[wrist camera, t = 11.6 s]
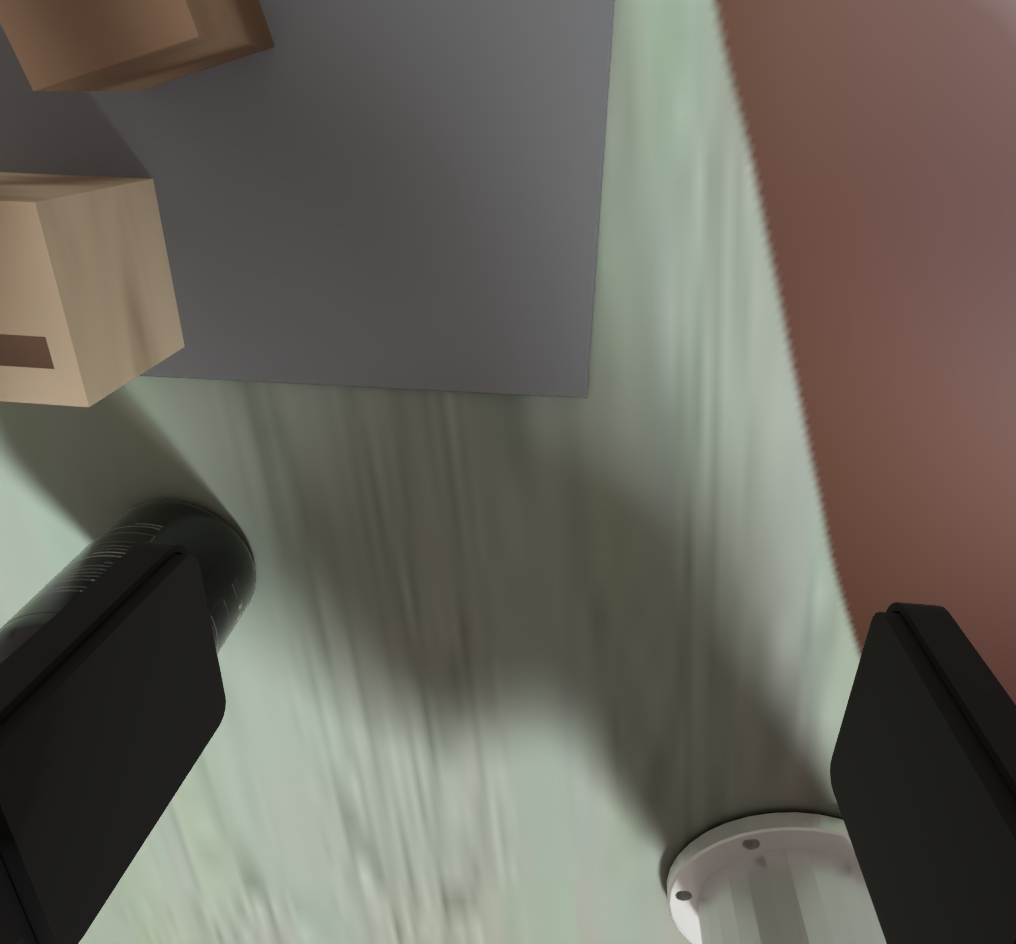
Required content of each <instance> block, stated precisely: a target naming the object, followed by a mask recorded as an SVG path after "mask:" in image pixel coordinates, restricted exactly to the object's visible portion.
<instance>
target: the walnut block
mask: <svg viewBox="0 0 1016 944" xmlns="http://www.w3.org/2000/svg"><path fill="white" fill-rule="evenodd" d="M0 23H1V25H2V27H3V29H4V31H5V33H6V35H7V37H8V40H9V42H10V44H11V46H12V48H13V50H14V52H15V54H16V56H17V58H18V60H19V62H20V64H21V66H22V69H23V71H24V73H25V75H26V77H27V79H28V81H29V83H30V85H31V87H32V89H33V91H140V90H143V89H146V88H149V87H152V86H155V85H158V84H161V83H165V82H168V81H171V80H174V79H177V78H180V77H183V76H186V75H189V74H192V73H196V72H199V71H202V70H205V69H208V68H211V67H214V66H217V65H220V64H223V63H227V62H230V61H233V60H236V59H239V58H242V57H245V56H248V55H251V54H254V53H258V52H261V51H264V50H267V49H270V48H273V47H275V45H274V42H273V39H272V36H271V33H270V30H269V28H268V25H267V22H266V19H265V16H264V13H263V10H262V7H261V4H260V1H259V0H0Z"/></svg>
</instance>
